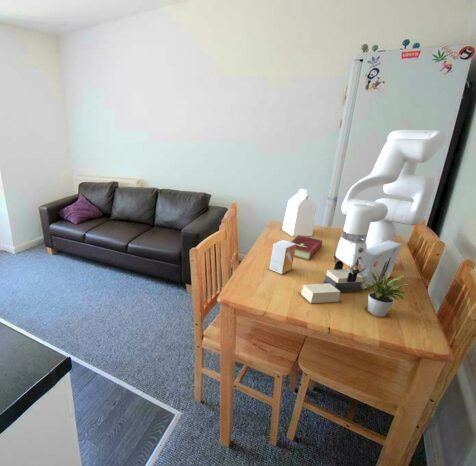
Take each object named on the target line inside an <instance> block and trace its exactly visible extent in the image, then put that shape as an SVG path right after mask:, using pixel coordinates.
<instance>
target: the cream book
mask: <svg viewBox="0 0 476 466" xmlns="http://www.w3.org/2000/svg"><path fill="white" fill-rule="evenodd" d="M349 273H350V268H343V269H339V270H334V269H327V270H326V273H325V276H328V277H330V278H331V279H332V280H334V281H335V282H336V283H352V282H347V278H348V274H349ZM362 281H363V276H361V275H359V274H357V278H356V281H355V282H362Z"/></svg>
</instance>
